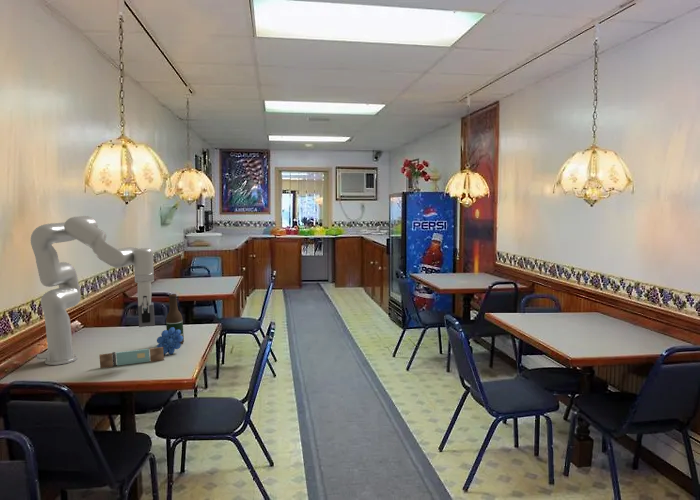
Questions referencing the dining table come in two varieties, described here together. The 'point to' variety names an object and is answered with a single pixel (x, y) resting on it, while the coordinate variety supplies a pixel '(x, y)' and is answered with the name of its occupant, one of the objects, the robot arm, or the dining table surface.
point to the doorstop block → (151, 311)
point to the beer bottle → (174, 316)
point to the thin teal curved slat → (132, 357)
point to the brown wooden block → (110, 361)
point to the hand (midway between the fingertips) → (146, 320)
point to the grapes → (170, 340)
